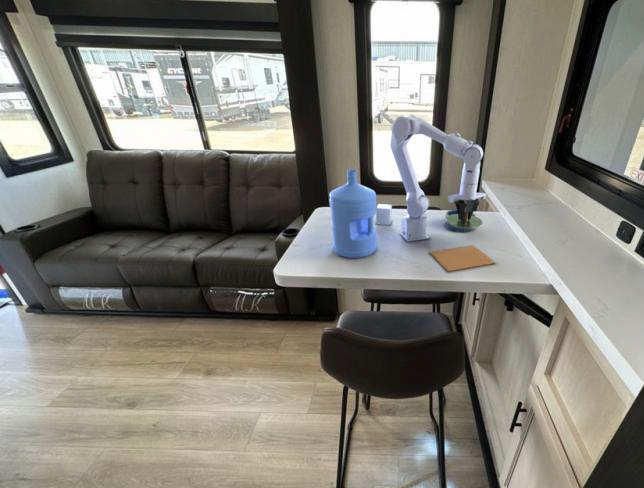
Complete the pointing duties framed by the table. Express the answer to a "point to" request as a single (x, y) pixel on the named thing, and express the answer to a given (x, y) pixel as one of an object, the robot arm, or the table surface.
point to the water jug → (353, 218)
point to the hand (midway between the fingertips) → (464, 219)
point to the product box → (383, 214)
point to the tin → (453, 226)
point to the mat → (461, 258)
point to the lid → (464, 221)
